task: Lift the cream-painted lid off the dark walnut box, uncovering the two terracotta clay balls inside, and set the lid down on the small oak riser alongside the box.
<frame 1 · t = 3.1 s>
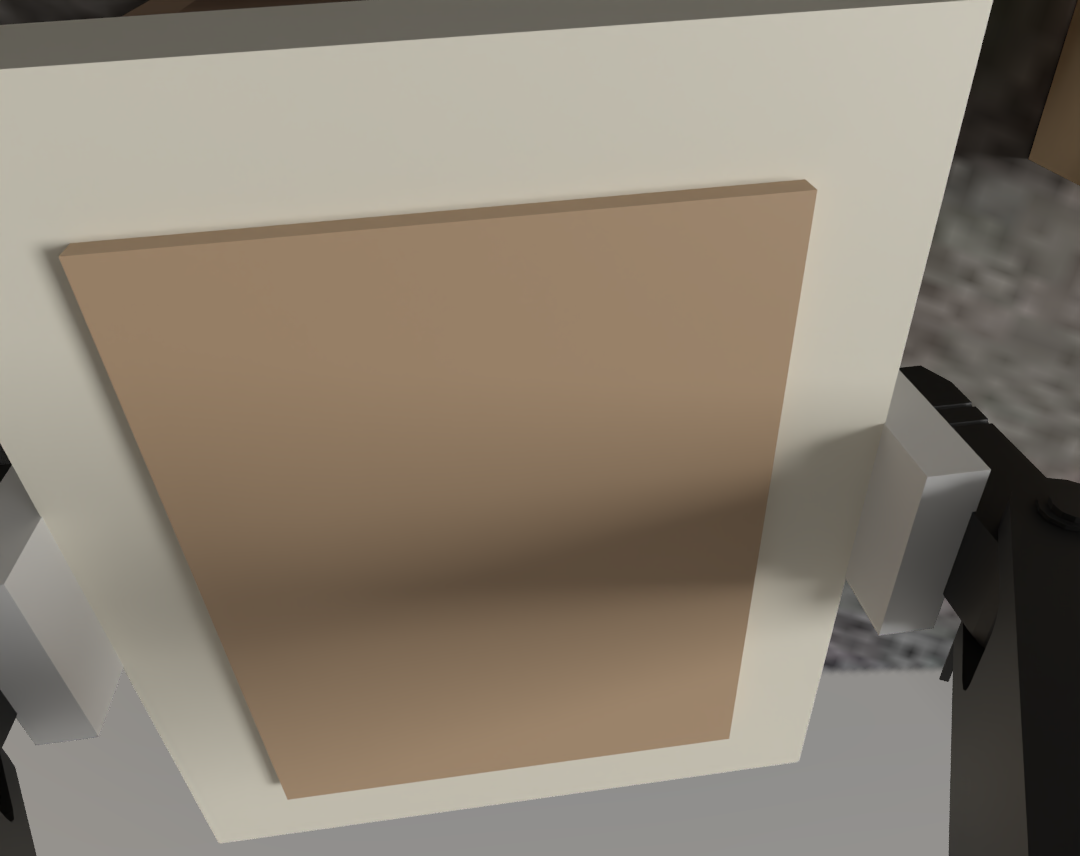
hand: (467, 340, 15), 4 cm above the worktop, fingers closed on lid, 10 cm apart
lid: (477, 439, 12), point 7 cm above the worktop, touching box, gripper
box: (458, 252, 18), on the worktop
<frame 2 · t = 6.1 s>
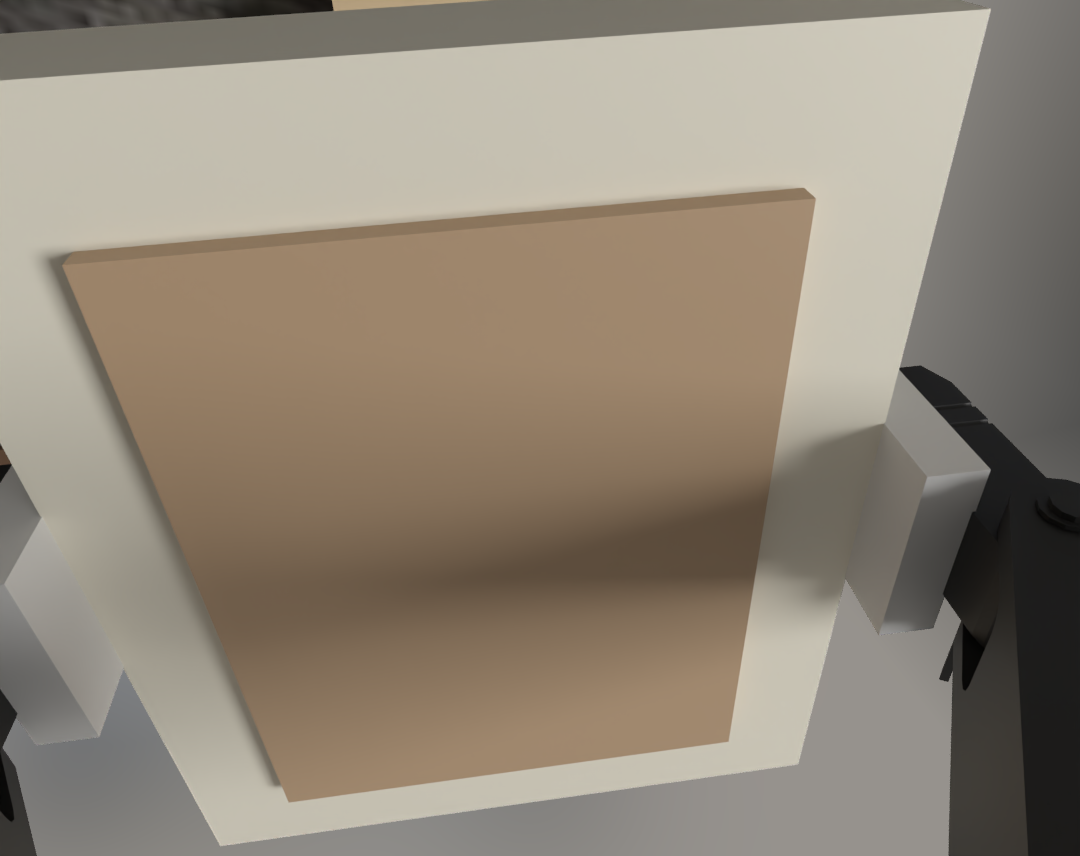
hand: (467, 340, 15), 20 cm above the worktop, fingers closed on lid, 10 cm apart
lid: (477, 443, 12), point 23 cm above the worktop, touching gripper
riser: (442, 82, 30), on the worktop
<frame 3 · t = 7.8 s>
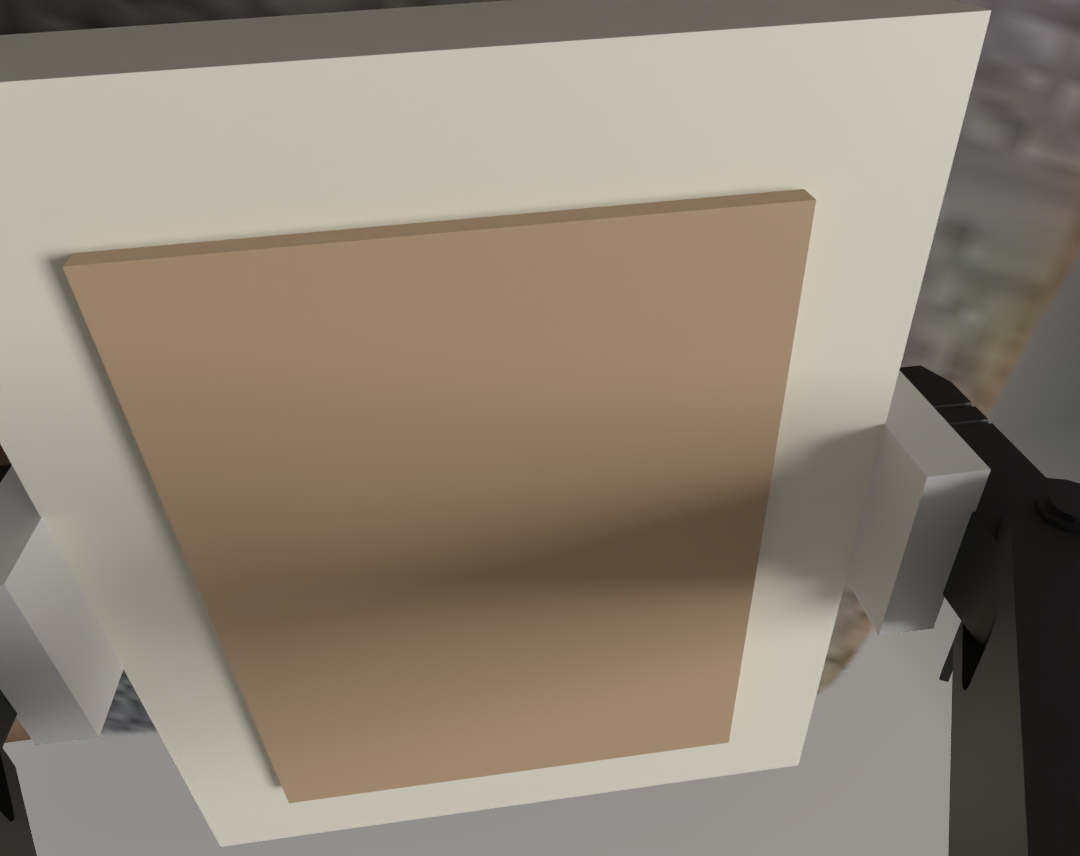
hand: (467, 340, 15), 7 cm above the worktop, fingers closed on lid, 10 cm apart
lid: (477, 444, 12), point 10 cm above the worktop, touching gripper
when the fingers open (3 cm above the worktop, at t = 9.1 s): lid drops 1 cm, resting on riser.
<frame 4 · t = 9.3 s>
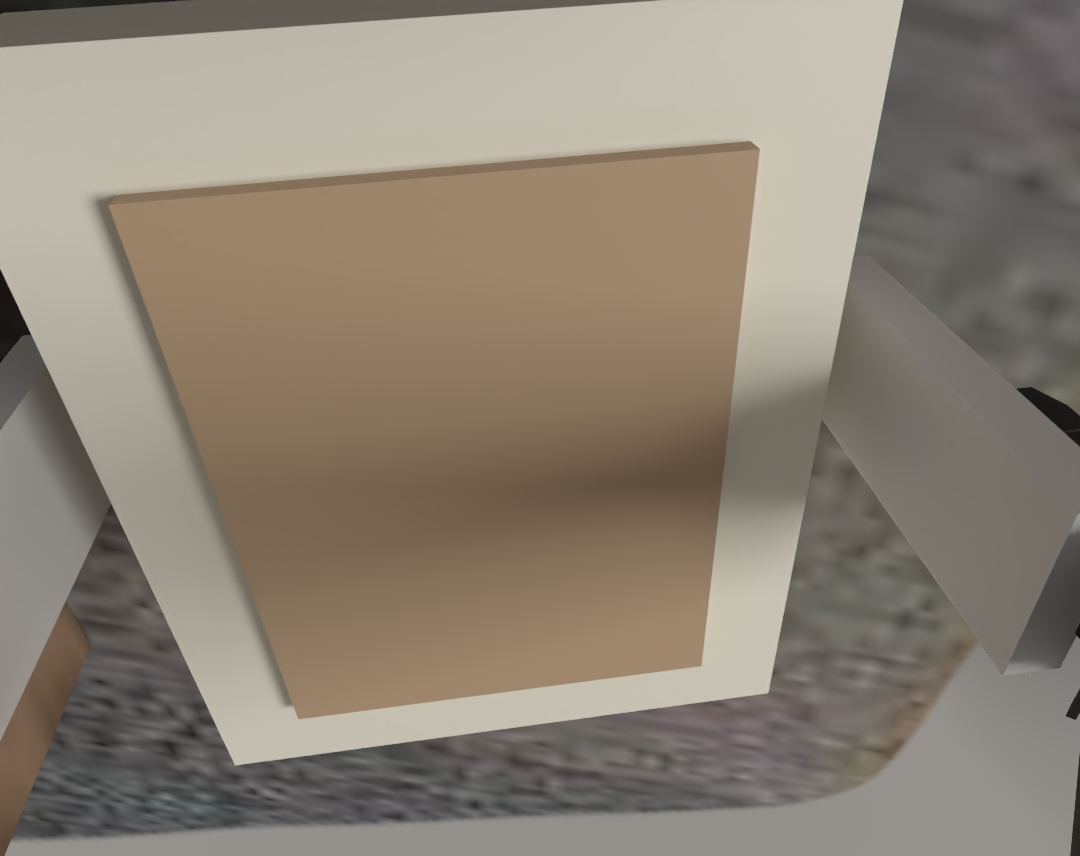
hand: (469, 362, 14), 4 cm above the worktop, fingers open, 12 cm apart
lid: (470, 390, 14), point 5 cm above the worktop, touching riser
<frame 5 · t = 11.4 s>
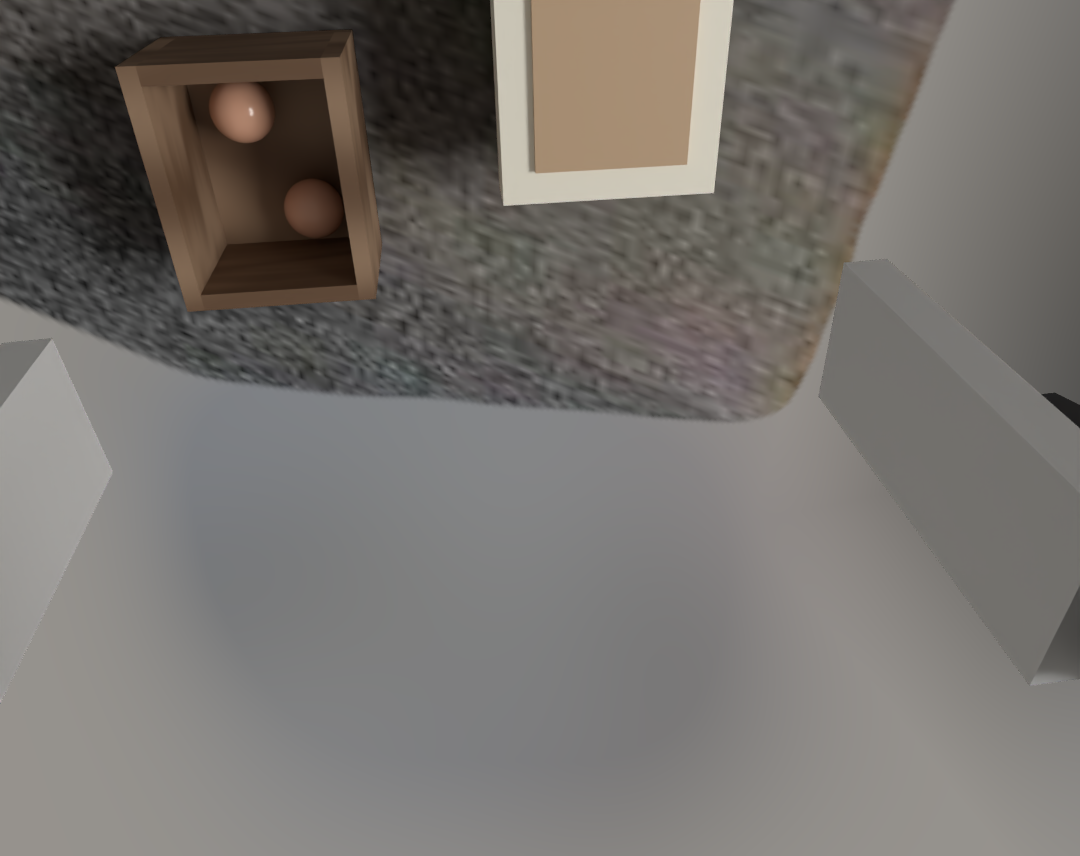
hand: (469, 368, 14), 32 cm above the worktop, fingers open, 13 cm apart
lid: (603, 50, 37), point 5 cm above the worktop, touching riser
box: (280, 149, 42), on the worktop
ball b: (317, 199, 43), point 1 cm above the worktop, touching box
ball a: (248, 102, 40), point 1 cm above the worktop, touching box
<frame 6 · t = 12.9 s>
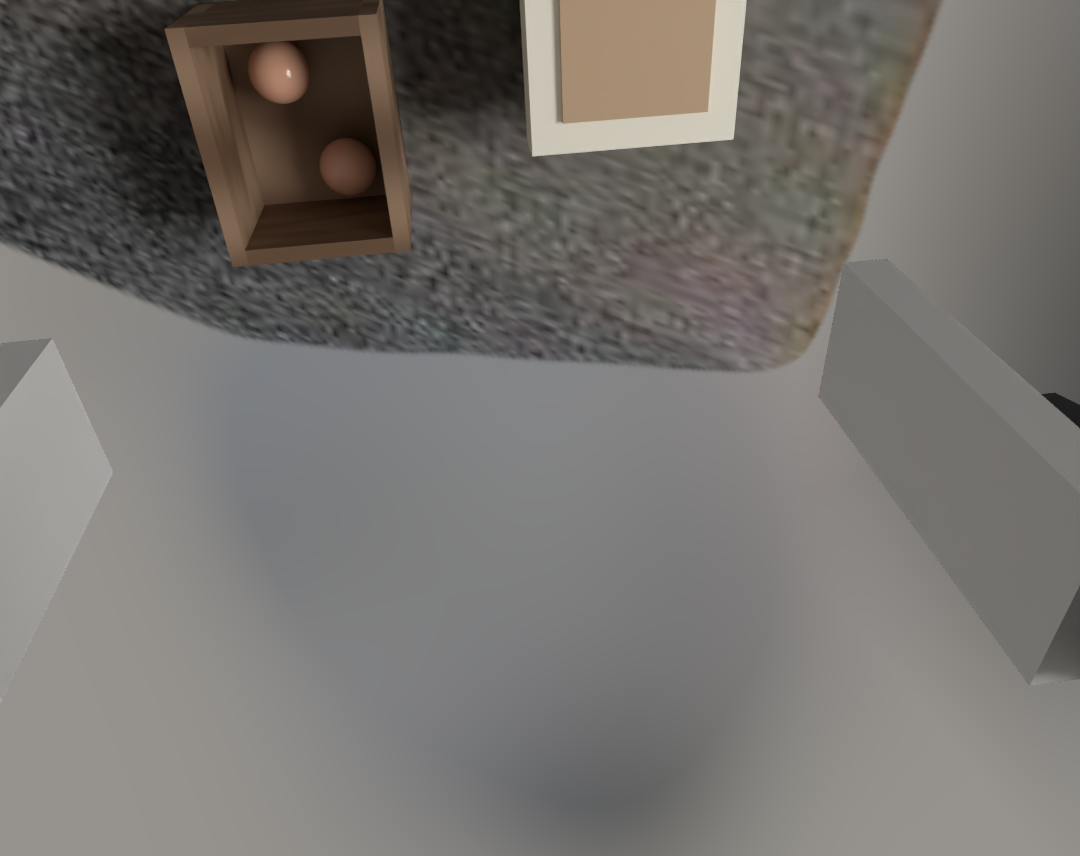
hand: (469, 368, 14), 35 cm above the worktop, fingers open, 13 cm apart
lid: (625, 3, 38), point 5 cm above the worktop, touching riser
box: (314, 111, 44), on the worktop
ball b: (350, 158, 45), point 1 cm above the worktop, touching box
ball a: (283, 65, 42), point 1 cm above the worktop, touching box
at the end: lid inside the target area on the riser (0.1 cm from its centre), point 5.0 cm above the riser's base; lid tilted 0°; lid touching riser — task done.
